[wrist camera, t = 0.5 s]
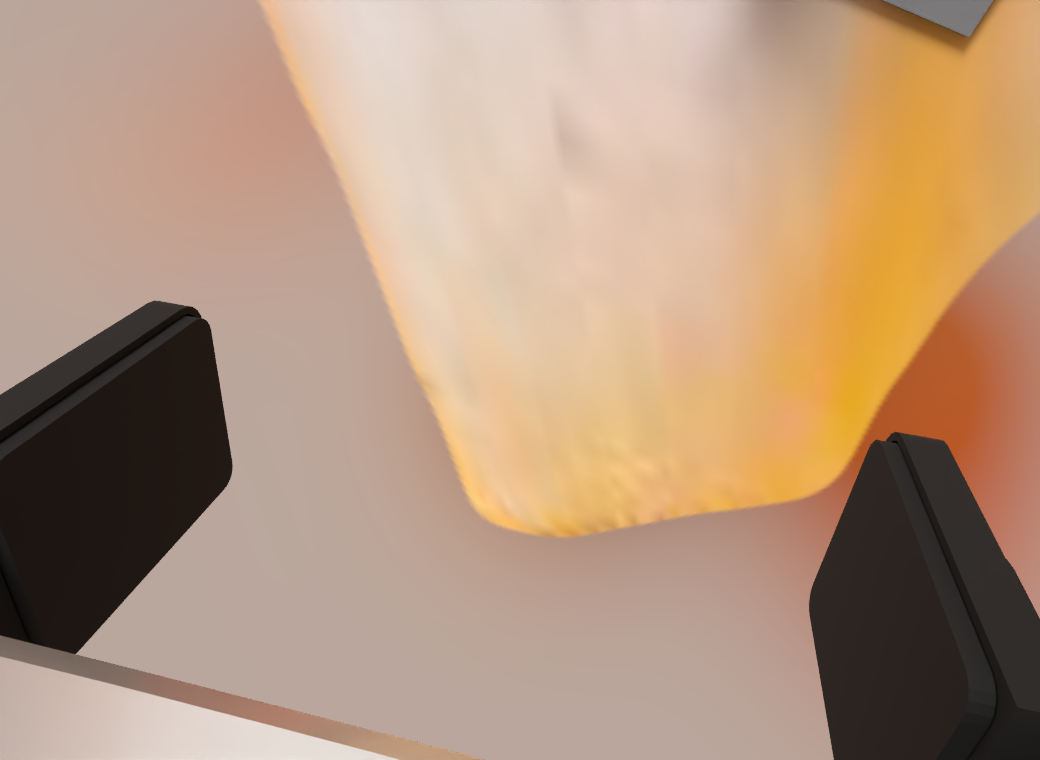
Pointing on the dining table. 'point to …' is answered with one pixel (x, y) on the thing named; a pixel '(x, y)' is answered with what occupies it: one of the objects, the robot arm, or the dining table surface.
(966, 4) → the mat
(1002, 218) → the dining table surface
